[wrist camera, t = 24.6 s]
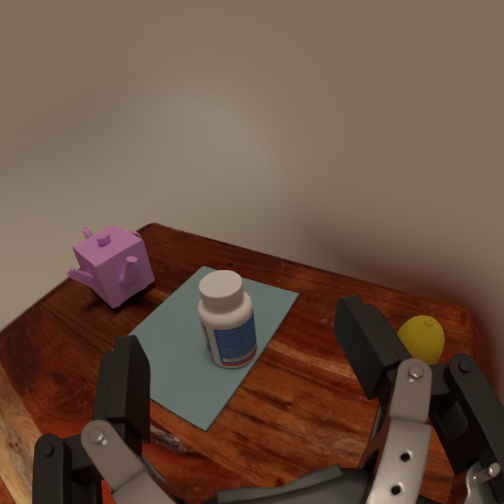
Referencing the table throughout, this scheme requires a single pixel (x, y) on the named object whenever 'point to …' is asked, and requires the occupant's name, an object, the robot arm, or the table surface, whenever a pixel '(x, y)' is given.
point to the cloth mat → (201, 349)
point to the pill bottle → (227, 319)
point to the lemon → (423, 338)
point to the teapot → (112, 264)
